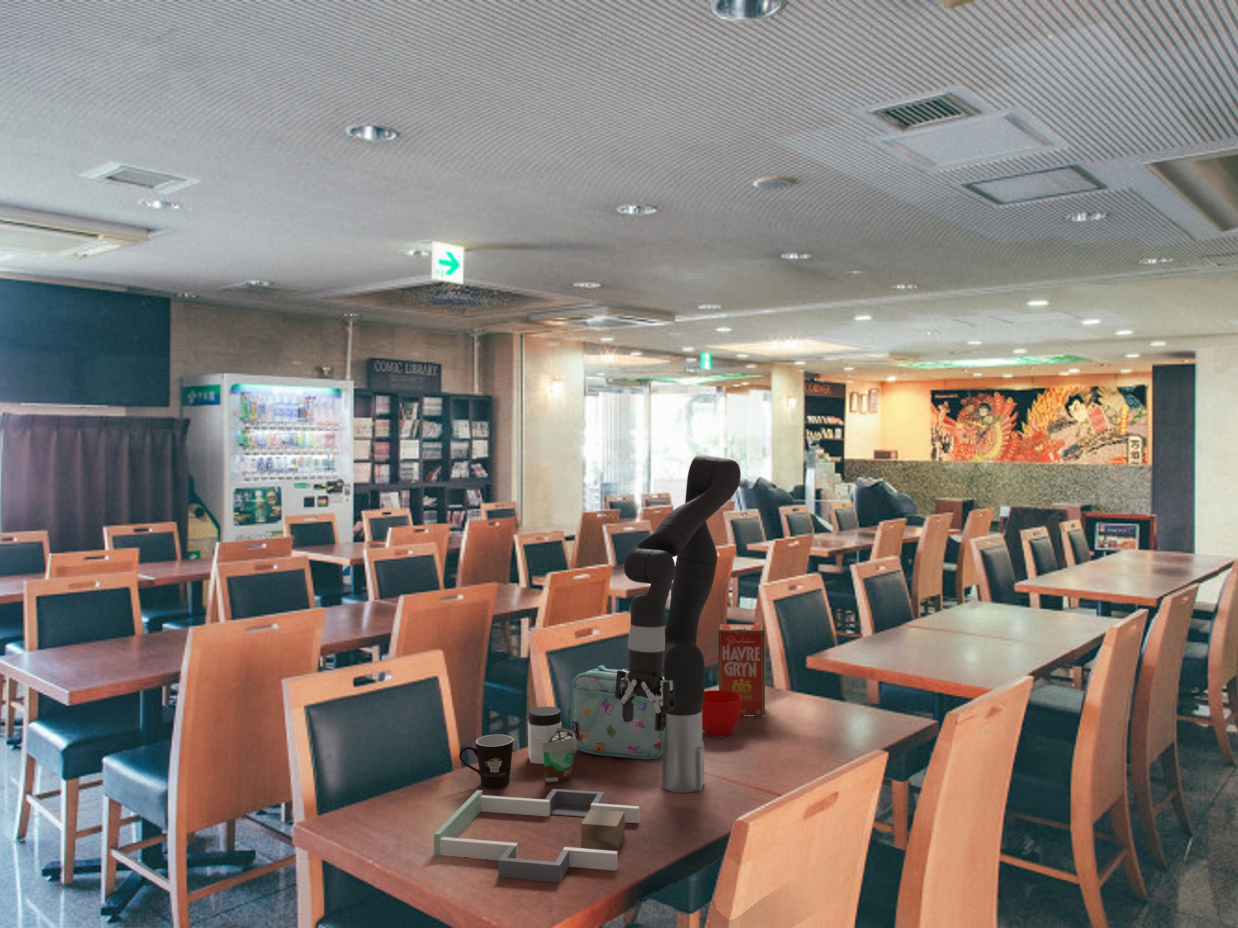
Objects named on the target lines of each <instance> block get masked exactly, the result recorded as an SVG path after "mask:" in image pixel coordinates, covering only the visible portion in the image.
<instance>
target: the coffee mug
mask: <svg viewBox="0 0 1238 928" xmlns="http://www.w3.org/2000/svg"><path fill="white" fill-rule="evenodd" d="M513 748H514V737H512V736H510V735H506V734H487V735H484V736H481V737H478V738H476V739H475V747H472V746H465V747H462V749H461V750H460V751H459V756H458V757H459V759H460V762H461V763H462V764H464V765H465V767H467V768H469V769H471V770H472V771H474V772H476V773H477V774H478V775H479V779H480V785H481V787H482V788H485V789H488V790H489V789H490V790H497V789H503V788H506V787H508V786H509V784H510V777H511V771H512V770H511V769H512V768H511V767H512V760H513V759H512V757H513ZM467 750H470V751H473V753H474V754H475V756H476V757H477V762H478V763H477V764H478V769H477V768H476V767H474V766H472V765H470V764H469V763H467V761H465V760H464V759H463V756H462V755H463V752H464V751H467Z"/></svg>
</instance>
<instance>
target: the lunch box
mask: <svg viewBox="0 0 1238 928" xmlns="http://www.w3.org/2000/svg"><path fill="white" fill-rule="evenodd" d="M619 670H620V669H613V668H612V669H611V668H606V667H605V665H603V664H601V665H598V666H597V668H594V669H590V670H587V671H585V672H581V673H579V674H577V675H576V676H575V677H574V678H573V681H572V683H571V701H570V705H569V707H568V711H567V714H569V715H570V730H571V731H572V732H573V733H574V735H575V738H576V742H577V743H576V745H575V746H574V747H575V748H577V750H578V751H581V752H583V753H587V754H590V755H594V756H595V755H596V756H602V757H612V758H613V757H614V758H625V759H626V758H627V759H634V760H653V759H657V758H659V757H661V756H662V731H656V730H655V715H656V712H657V711H656V709H655V707H654V705H653V704H652V703H651V702H650V700H649V698H644V697H643V696H636V697H635V698H634V700H633V701H632V703H634V705H633V720H632V721H631V722H624V719H623V716H622V713H623V703H622V702H621V700H620V699H616V698H615V690H616V678H617V671H619ZM662 678H663V680H664V676H662ZM629 686H630V682H629V680H628V687H629ZM661 688H662V687H661ZM621 691H622V688H621ZM662 692H663V690H662ZM655 697H658V695H657V694H656V695H655ZM659 704H660V703H659ZM660 706H661V705H660Z"/></svg>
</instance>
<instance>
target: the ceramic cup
mask: <svg viewBox="0 0 1238 928" xmlns="http://www.w3.org/2000/svg"><path fill="white" fill-rule="evenodd" d="M740 713H741V696H740V695H739V694H737V693H734V692H729V691H721V690H719V689H718V690H717V689H716V690H712V689H711V690H704V699H703V702H702V732H703V733H704V734H705V735H706V736H708V737H711V736H712V738H713V737H714V738H725V737H727V736H730V735H731V733H732V732H733V731H734V730H735V729H736V727H737V725H738V723H739V721H740V717H741V716H740Z"/></svg>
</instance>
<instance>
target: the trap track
mask: <svg viewBox="0 0 1238 928" xmlns="http://www.w3.org/2000/svg"><path fill="white" fill-rule="evenodd" d="M590 809H592V810H606V811H620V812H624V818H625V823H631V824H639V823H640V805H628V804H627V805H626V804H624V805H623V804H612V803H609V804H608V803H605V792H604V791H594V790H593V791H590V790H574V789H561V788H559V789H558V788H552V789H551V791H550V792H549V793H548V795H547V796H546V798H544V799H543V798H541V799H540V798H528V797H512V796H499V795H498V796H497V795H484V794H483V790H482V789H481V790H480V789H477V790H475V792H474V793H473V794H472V795H471V796H470V797H469V798H468V799H467V800H466V801H465V802H464V803H463V804H462V805H461V806H460V807H458V809H456V811H455V812H454V813H453V814H452V815H450V817H449V818H448V819H447V820H446V821H445V822H444V823H443V824H442V825H440V827H439V828H438V829H437V830H436V831H435V832H434V833H433V855H434V856H441V855H444V856H445V857H453V856H455V858H464V857H470V858H469V859H476V858H477V860H478V859H480V860H487V859H488V860H489V861H497V864H498V866H497V867H498V869H497V870H498V871H497V872H498V876H499V877H498V878H505V877H507V878H508V879H517V880H530V881H539V882H540V881H541V882H550V883H561V881H562V880H563V878H564V877H565V875H566V873H567V871H568V870H569V868H570V867H571V868H580V869H581V868H582V869H583V868H584V869H593V870H594V869H595V870H604V871H605V870H606V871H614V872H615V871H618V868H619V858H618V857H619V856H618V853H619V850H618V851H608V850H596V849H584V848H581V847H571V846H564V847H563V848H562V850H561V851H560V854H559V855H558V856H557V858H556V860H555V861H551V860H550V861H548V860H535V859H525V858H519V844H518V842H511V841H510V842H509V841H497V840H486V839H485V840H484V839H474V838H473V839H472V838H460V837H459V836H460V835H461V834H462V832H464V830H465V829H466V828H467V827H468V826H469V825H470V824H471V823H472V822H473V821H474V820H475V818H476V817H477V816H478V815H479V814H480V813H481V812H484V813H496V814H497V813H499V814H510V815H511V814H512V815H526V816H537V817H550V816H551V815H552V816H564V817H577V818H585V817H586V815H587V813H588V812H589V810H590ZM549 815H550V816H549ZM458 837H459V838H458ZM446 855H447V856H446ZM444 856H443V857H444ZM457 856H458V857H457ZM507 878H506V879H507Z"/></svg>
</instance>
